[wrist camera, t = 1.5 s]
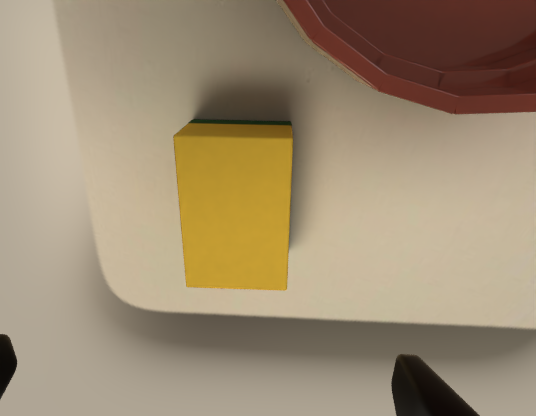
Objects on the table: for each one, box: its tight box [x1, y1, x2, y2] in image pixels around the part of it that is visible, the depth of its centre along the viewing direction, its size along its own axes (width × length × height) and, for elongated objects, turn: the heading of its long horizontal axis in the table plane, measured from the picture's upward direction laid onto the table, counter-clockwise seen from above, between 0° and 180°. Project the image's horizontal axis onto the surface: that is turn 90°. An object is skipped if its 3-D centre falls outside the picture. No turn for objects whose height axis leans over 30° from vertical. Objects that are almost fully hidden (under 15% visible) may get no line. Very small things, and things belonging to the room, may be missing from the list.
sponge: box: [173, 119, 293, 290], centre depth 17 cm, size 7×5×3 cm, turn 179°
